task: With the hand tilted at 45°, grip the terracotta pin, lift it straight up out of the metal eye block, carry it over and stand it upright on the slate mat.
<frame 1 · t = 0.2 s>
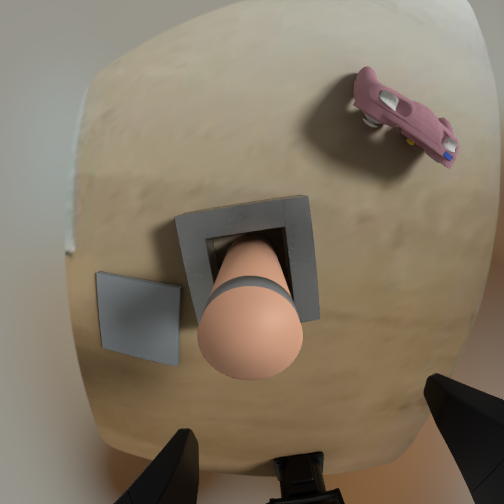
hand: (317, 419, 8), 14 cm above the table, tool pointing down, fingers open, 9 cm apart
eye block: (251, 260, 22), on the table
video game controller: (394, 122, 19), on the table
mat: (138, 319, 23), on the table
pin: (250, 286, 16), in the eye block
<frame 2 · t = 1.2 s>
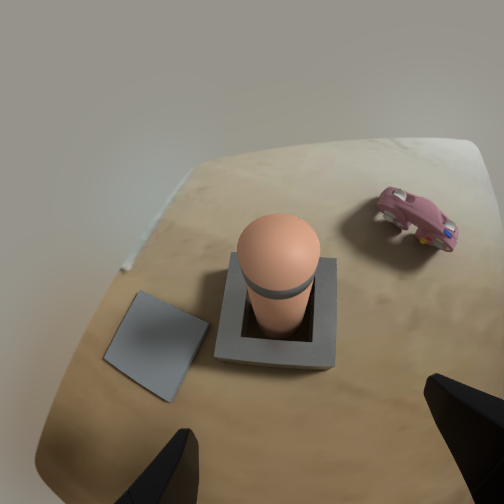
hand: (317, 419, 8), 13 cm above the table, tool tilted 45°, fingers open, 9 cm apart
eye block: (279, 316, 24), on the table
video game controller: (410, 231, 27), on the table
mat: (154, 344, 23), on the table
pin: (279, 292, 18), in the eye block
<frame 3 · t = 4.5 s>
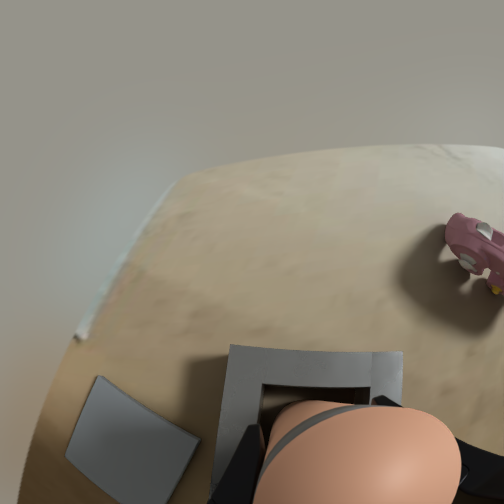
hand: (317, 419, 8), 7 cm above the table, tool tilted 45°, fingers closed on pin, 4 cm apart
eye block: (306, 431, 13), on the table
video game controller: (478, 274, 16), on the table
mat: (125, 452, 13), on the table
pin: (321, 450, 8), in the eye block, touching gripper
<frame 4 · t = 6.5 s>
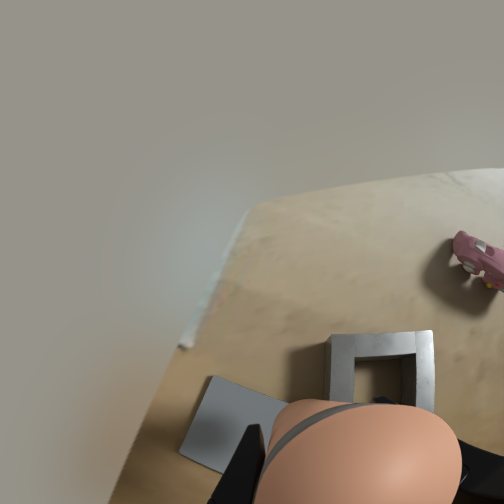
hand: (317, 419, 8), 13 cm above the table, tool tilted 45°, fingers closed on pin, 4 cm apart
eye block: (374, 390, 19), on the table
video game controller: (476, 274, 23), on the table
mat: (240, 433, 19), on the table
pin: (321, 449, 8), point 13 cm above the table, touching gripper
when the fingers open (8 cm above the table, at t = 8.8 s): pin stays where it is, resting on mat.
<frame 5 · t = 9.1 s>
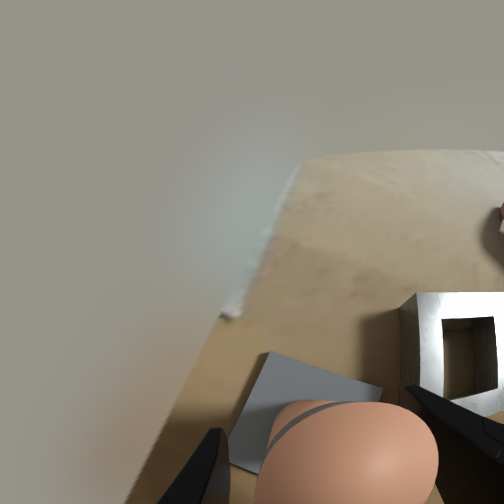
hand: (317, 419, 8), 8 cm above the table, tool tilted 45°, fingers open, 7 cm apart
eye block: (450, 363, 15), on the table
mat: (303, 427, 14), on the table
pin: (317, 445, 9), on the mat, point 7 cm above the table
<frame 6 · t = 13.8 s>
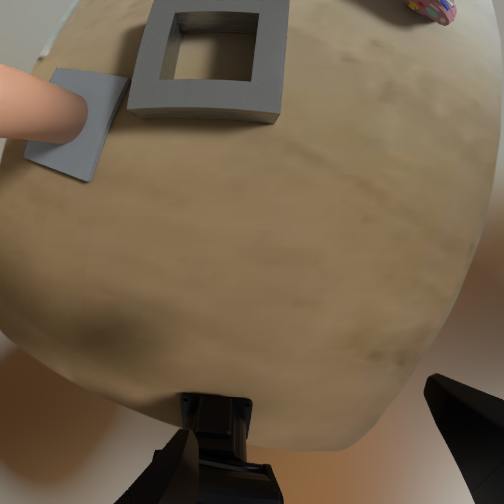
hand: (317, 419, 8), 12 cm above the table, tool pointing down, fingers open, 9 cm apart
eye block: (214, 61, 15), on the table
mat: (71, 119, 16), on the table
pin: (17, 105, 9), on the mat, point 7 cm above the table
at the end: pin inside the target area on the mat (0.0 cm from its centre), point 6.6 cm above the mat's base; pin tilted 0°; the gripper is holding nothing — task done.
